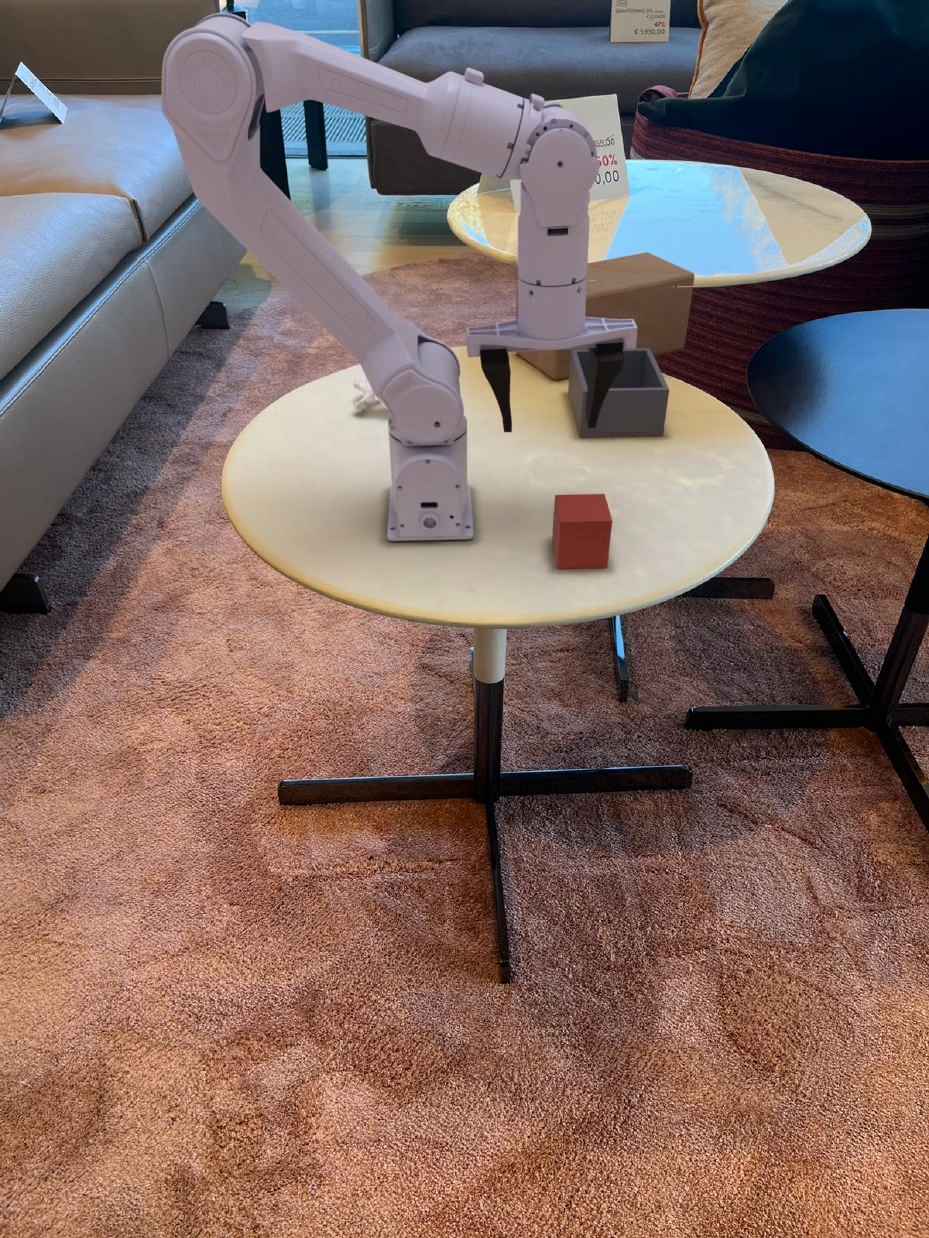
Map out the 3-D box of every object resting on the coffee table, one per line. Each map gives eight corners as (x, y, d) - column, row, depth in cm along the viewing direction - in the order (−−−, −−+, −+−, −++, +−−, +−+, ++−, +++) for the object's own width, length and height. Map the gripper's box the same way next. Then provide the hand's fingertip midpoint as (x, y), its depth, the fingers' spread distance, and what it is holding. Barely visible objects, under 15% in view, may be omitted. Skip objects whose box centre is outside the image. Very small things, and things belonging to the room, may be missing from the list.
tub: (663, 436, 102) (669, 389, 98) (579, 437, 101) (583, 391, 98) (644, 392, 110) (650, 348, 107) (567, 393, 110) (570, 349, 107)
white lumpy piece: (421, 363, 108) (420, 382, 103) (422, 398, 111) (420, 419, 105) (353, 363, 108) (348, 382, 103) (355, 398, 110) (350, 419, 105)
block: (607, 568, 82) (612, 520, 79) (556, 569, 82) (560, 521, 79) (600, 540, 86) (604, 493, 83) (551, 541, 86) (554, 494, 82)
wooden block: (515, 275, 113) (647, 250, 121) (513, 353, 120) (639, 325, 127) (559, 300, 107) (696, 272, 114) (554, 382, 113) (685, 350, 120)
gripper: (631, 255, 79) (620, 401, 88) (462, 264, 79) (468, 409, 88) (647, 283, 74) (633, 436, 82) (466, 292, 74) (471, 445, 82)
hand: (548, 425), depth 85 cm, fingers open, 7 cm apart
